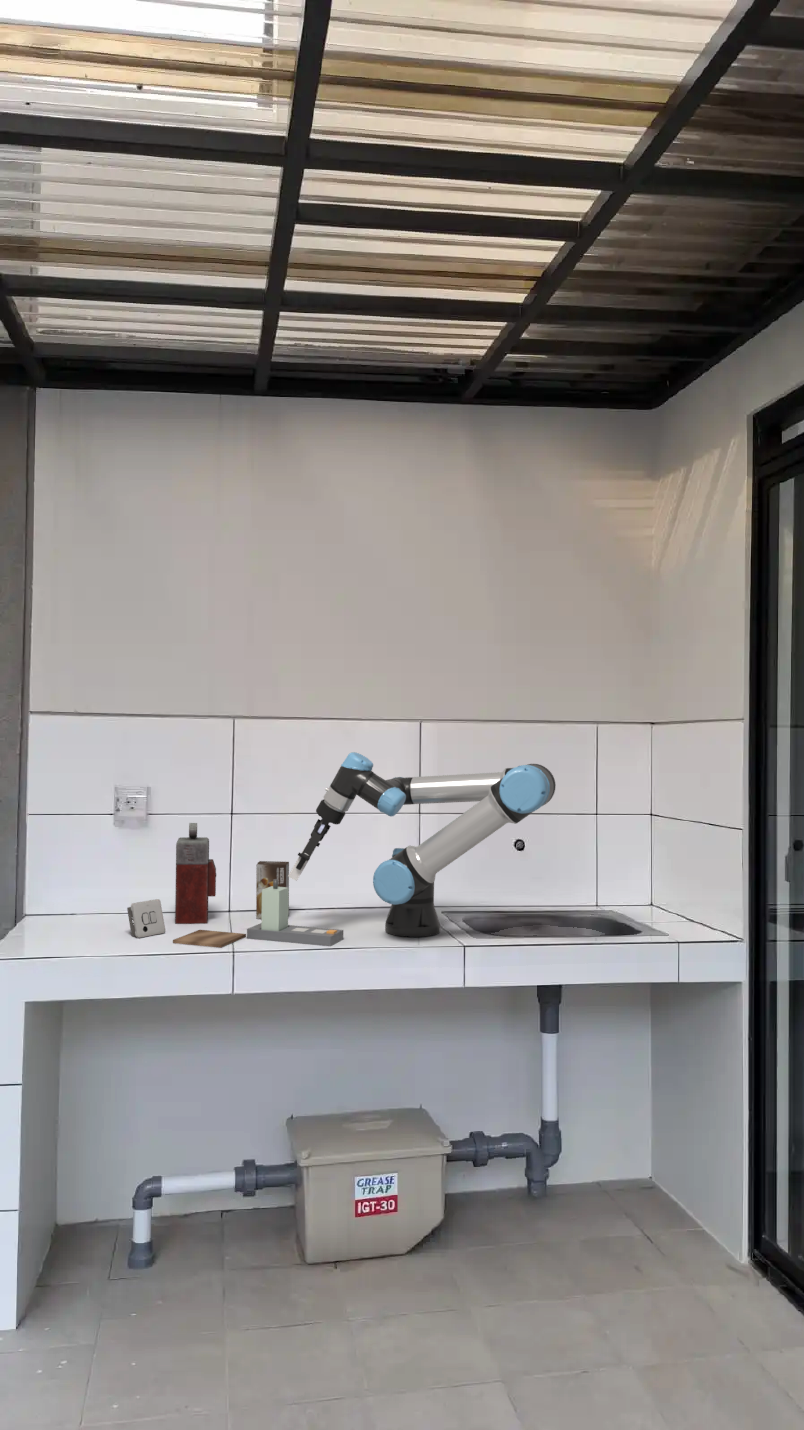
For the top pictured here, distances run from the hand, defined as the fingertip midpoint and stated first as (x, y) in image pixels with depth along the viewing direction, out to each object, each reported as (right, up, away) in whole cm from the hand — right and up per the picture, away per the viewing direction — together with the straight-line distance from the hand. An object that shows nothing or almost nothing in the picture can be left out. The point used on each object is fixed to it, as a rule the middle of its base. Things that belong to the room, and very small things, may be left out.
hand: (296, 871), depth 298 cm
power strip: (0, -17, -7) cm, 18 cm away
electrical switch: (-40, -17, -5) cm, 44 cm away
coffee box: (-9, -17, +21) cm, 29 cm away
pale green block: (-5, -17, -5) cm, 18 cm away
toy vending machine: (-30, -16, +15) cm, 38 cm away
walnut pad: (-22, -17, -10) cm, 29 cm away
